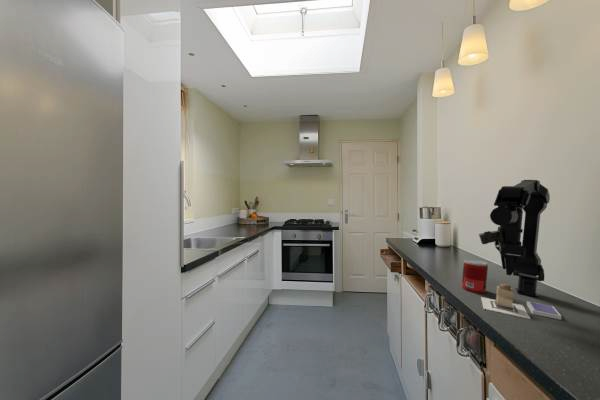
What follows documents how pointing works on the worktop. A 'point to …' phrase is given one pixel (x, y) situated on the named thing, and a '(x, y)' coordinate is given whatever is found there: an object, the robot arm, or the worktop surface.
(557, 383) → the worktop surface
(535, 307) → the ink pad
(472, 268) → the canned food
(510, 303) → the stamp
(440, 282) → the worktop surface
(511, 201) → the robot arm
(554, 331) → the worktop surface
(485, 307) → the print card
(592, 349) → the worktop surface
